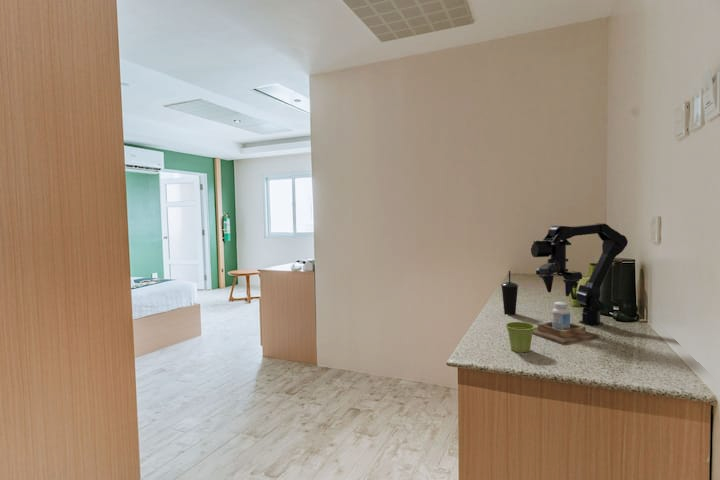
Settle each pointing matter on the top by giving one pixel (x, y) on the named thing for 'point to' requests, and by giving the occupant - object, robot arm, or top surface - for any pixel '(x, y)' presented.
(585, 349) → the top surface
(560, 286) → the top surface
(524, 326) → the plant pot
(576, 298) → the robot arm
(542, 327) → the holder
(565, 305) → the pill bottle
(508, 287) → the drinking cup
